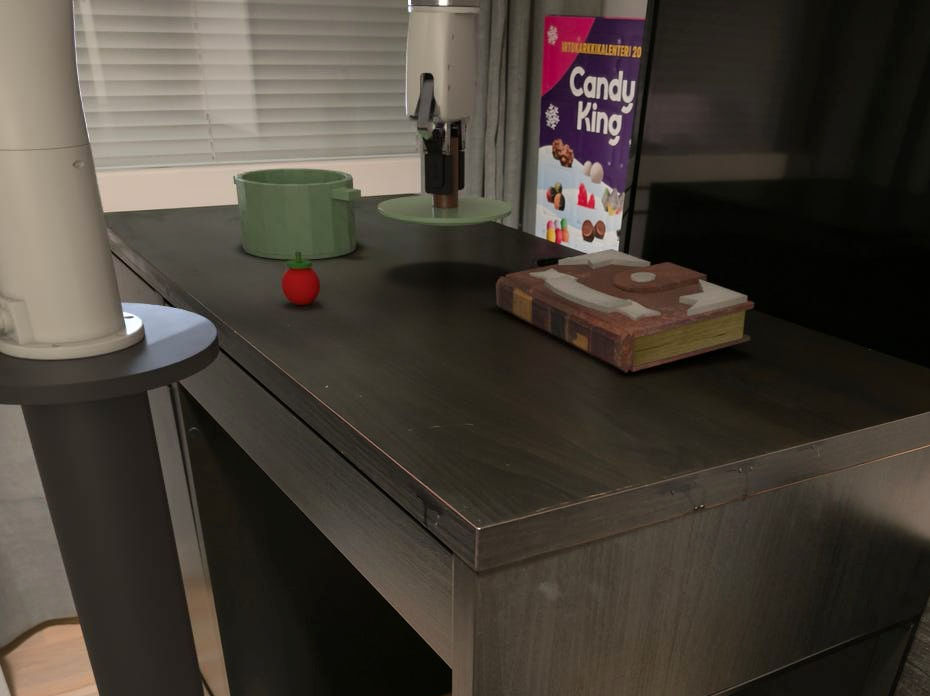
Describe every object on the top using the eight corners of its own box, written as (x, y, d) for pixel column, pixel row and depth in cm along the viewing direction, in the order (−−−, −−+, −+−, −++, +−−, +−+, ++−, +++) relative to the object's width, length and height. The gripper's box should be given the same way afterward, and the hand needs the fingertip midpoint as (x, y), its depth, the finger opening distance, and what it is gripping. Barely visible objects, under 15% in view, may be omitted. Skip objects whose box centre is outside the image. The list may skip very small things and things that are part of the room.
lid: (461, 235, 98) (461, 149, 93) (350, 218, 105) (345, 137, 100) (537, 214, 109) (540, 137, 104) (431, 200, 116) (430, 127, 111)
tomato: (296, 311, 95) (291, 257, 92) (276, 303, 98) (270, 250, 95) (328, 305, 97) (324, 252, 94) (308, 298, 100) (304, 246, 97)
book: (497, 317, 98) (494, 268, 95) (618, 290, 103) (619, 243, 100) (620, 383, 81) (622, 326, 78) (757, 346, 86) (764, 291, 83)
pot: (318, 268, 112) (312, 191, 107) (206, 246, 121) (196, 174, 116) (394, 249, 122) (391, 178, 117) (284, 230, 131) (278, 163, 126)
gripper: (439, -3, 102) (440, 179, 113) (377, -6, 90) (385, 200, 100) (503, -2, 100) (498, 183, 111) (449, -5, 88) (450, 205, 98)
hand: (445, 189), depth 105 cm, fingers closed on lid, 3 cm apart
